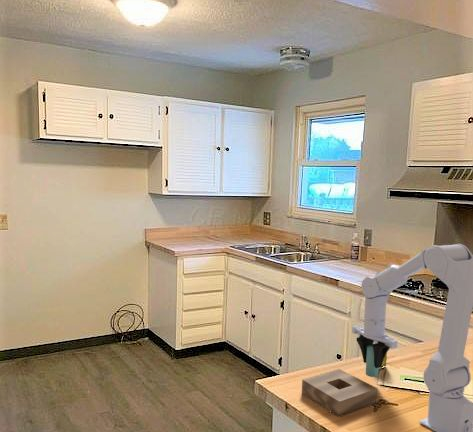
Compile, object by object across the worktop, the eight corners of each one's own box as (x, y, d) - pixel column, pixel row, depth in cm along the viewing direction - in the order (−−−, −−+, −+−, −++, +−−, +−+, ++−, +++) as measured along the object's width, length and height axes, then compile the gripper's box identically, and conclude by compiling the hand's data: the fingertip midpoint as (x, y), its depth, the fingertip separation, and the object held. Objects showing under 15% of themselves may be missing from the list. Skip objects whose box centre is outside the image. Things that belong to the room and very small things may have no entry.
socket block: (376, 402, 121) (377, 388, 121) (338, 417, 113) (339, 401, 113) (338, 382, 133) (339, 368, 132) (301, 393, 125) (302, 379, 125)
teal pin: (380, 375, 131) (382, 348, 130) (372, 378, 129) (373, 350, 128) (371, 370, 134) (372, 344, 133) (362, 373, 132) (364, 346, 131)
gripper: (405, 323, 126) (402, 370, 127) (364, 309, 138) (362, 353, 139) (388, 327, 122) (385, 376, 123) (348, 313, 134) (346, 357, 135)
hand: (372, 364), depth 131 cm, fingers closed on teal pin, 3 cm apart
